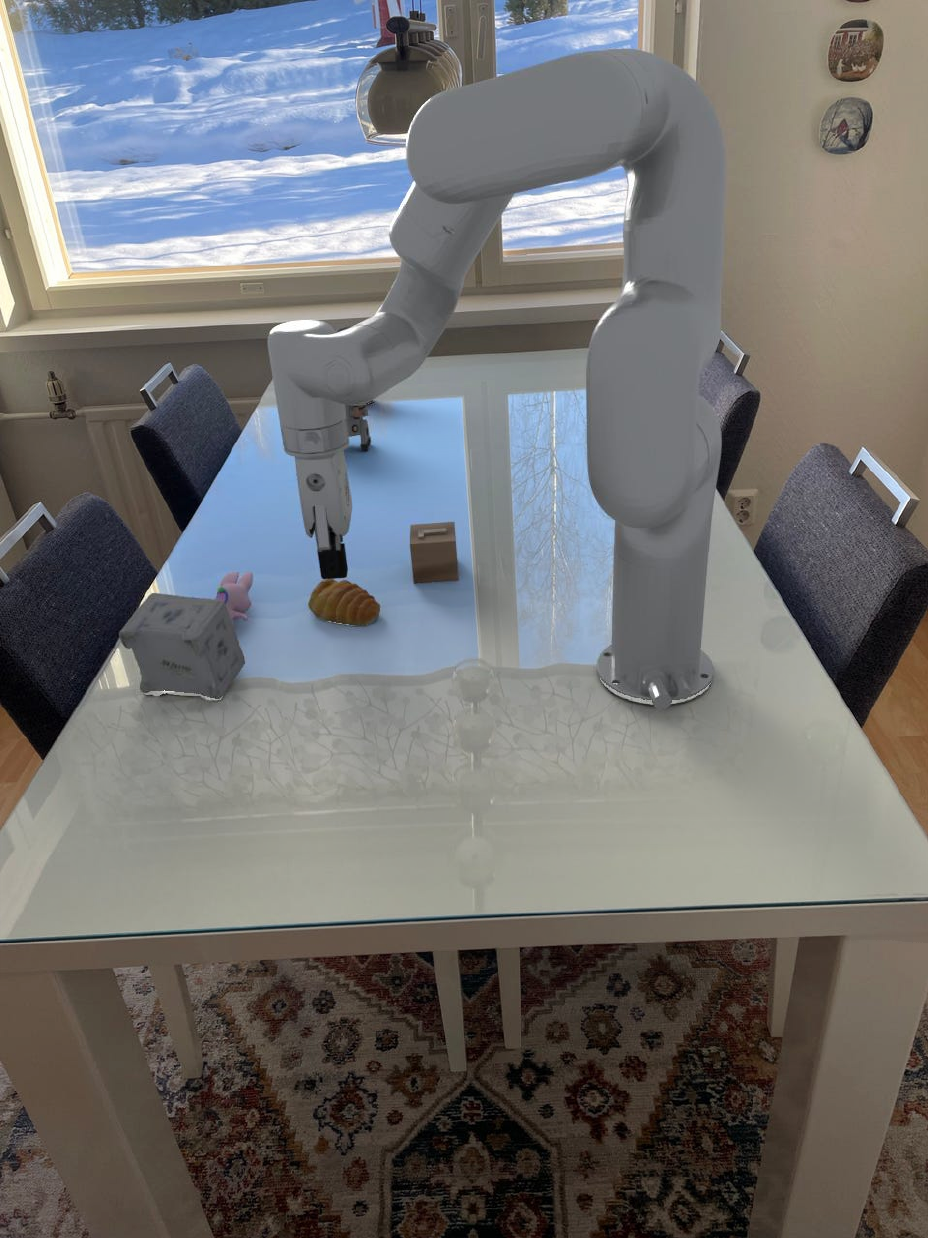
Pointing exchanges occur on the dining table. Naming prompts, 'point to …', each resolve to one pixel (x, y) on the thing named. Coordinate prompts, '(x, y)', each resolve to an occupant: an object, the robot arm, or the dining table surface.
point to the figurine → (358, 424)
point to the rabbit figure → (236, 594)
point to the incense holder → (184, 645)
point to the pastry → (343, 603)
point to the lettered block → (433, 552)
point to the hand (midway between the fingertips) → (334, 575)
